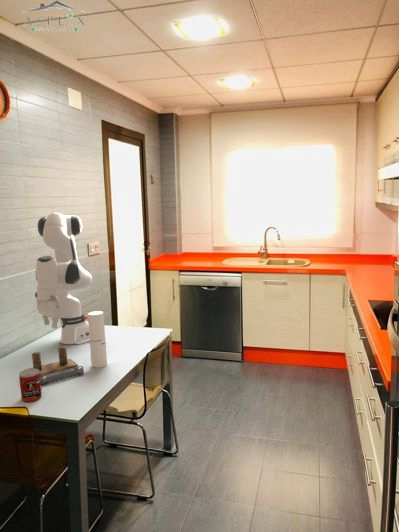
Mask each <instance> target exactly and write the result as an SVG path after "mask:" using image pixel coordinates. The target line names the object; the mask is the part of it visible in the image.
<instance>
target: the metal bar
mask: <svg viewBox="0 0 399 532" xmlns="http://www.w3.org/2000/svg"><path fill="white" fill-rule="evenodd" d="M84 371H85V370H84V366H83V365H78V366H76V367H74V368H70V369H66V370H63V371H59V372H55V373H51V374H47V375H41V376H40V381H41V387H42V386H47V385H48V384H52V382H53V383H56V382H60V381H63V379H64V380H68V379H71V378H74V377H80V376H83V375H84V374H85V373H84ZM67 378H68V379H67ZM59 380H60V381H59ZM55 381H56V382H55Z"/></svg>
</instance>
